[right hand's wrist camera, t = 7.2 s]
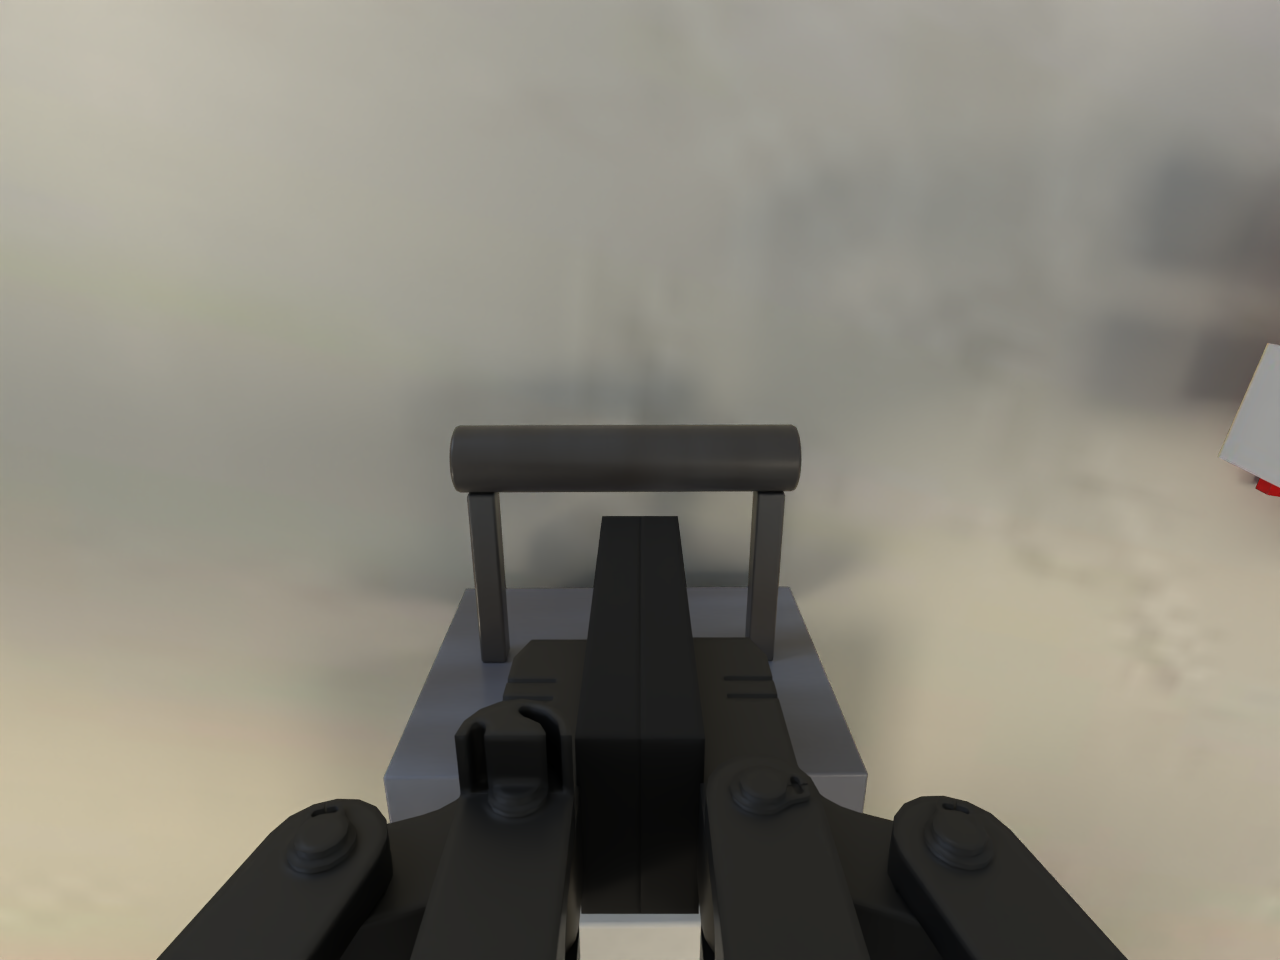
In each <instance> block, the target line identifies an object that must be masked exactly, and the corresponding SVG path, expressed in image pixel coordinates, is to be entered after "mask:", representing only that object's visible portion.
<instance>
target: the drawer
mask: <svg viewBox="0 0 1280 960" xmlns="http://www.w3.org/2000/svg"><path fill="white" fill-rule="evenodd" d="M450 472H451V478H452V482H453V485H454V487H455V489H456V491H458V492H469V494H468V496H467V502H468V513H469V525H470V536H471V548H472V559H473V571H474V582H475V588H468V589H466V590H465V592H464V595H463V597H462V599H461V602H460V604H459V606H458V608H457V611H456V613H455V615H454V618H453V620H452V622H451V624H450V627H449V629H448V631H447V634H446V636H445V638H444V640H443V643H442V645H441V647H440V650H439V652H438V654H437V656H436V659H435V661H434V663H433V666H432V668H431V670H430V672H429V675H428V677H427V679H426V682H425V684H424V686H423V688H422V691H421V693H420V695H419V698H418V700H417V702H416V704H415V707H414V709H413V711H412V714H411V716H410V718H409V721H408V723H407V725H406V727H405V730H404V732H403V734H402V737H401V739H400V741H399V743H398V746H397V748H396V750H395V753H394V755H393V757H392V759H391V762H390V764H389V766H388V769H387V771H386V773H385V775H384V785H385V792H386V798H387V805H388V812H389V818H390V823H393V822H397V821H401V820H404V819H408V818H412V817H416V816H420V815H424V814H426V813H429V812H432V811H435V810H438V809H440V808H442V807H444V806H446V805H448V804H450V803H451V802H453V801H455V800H456V799H458V798H459V797H460V784H459V775H458V765H457V756H456V746H455V737H454V735H455V734H456V732H457V731H458V729H459V728H460V726H461V725H462V723H463V721H464V720H466V719H467V718H468V717H470V716H471V715H473V714H474V713H475V712H477V711H478V710H479V709H482V708H484V707H487V706H490V705H492V704H495V703H498V702H501V701H503V694H504V690H505V687H506V683H508V676H509V672H510V669H511V665H512V662H513V658H514V657H515V656H516V655H517V654H518V653H519V652H520V651H521V650H522V649H523V648H524V647H525V646H526V645H527V644H528V643H529V642H530V641H531V640H587V636H588V628H589V620H590V612H591V604H592V595H593V588H506V584H505V570H504V556H503V541H502V527H501V513H500V499H499V492H703V491H753V507H752V524H751V542H750V560H749V577H748V587H687V595H688V604H689V612H690V620H691V628H692V636H693V637H749V638H750V639H751V640H752V641H753V642H754V643H755V644H756V645H757V646H758V647H759V648H760V649H761V650H762V651H763V652H764V653H765V654H766V655H767V659H768V663H769V666H770V670H771V673H772V679H773V681H774V684H775V687H776V691H777V697H778V698H779V701H780V705H781V708H782V712H783V715H784V719H785V722H786V726H787V729H788V733H789V736H790V740H791V743H792V747H793V750H794V754H795V757H796V761H797V764H798V767H799V768H800V769H801V770H802V771H804V772H805V773H806V774H807V775H808V776H810V777H811V779H812V781H813V782H814V784H815V786H816V788H817V789H818V791H819V793H820V794H821V795H822V796H824V797H825V798H827V799H828V800H830V801H832V802H834V803H836V804H838V805H840V806H842V807H845V808H848V809H850V810H853V811H856V812H859V813H863V807H864V800H865V792H866V785H867V777H868V773H867V771H866V768H865V766H864V764H863V761H862V759H861V756H860V754H859V752H858V749H857V747H856V745H855V742H854V740H853V737H852V735H851V733H850V730H849V728H848V725H847V723H846V721H845V718H844V716H843V714H842V711H841V709H840V706H839V704H838V702H837V699H836V697H835V694H834V692H833V690H832V687H831V685H830V682H829V680H828V678H827V675H826V673H825V671H824V668H823V666H822V663H821V661H820V659H819V656H818V654H817V651H816V649H815V647H814V644H813V642H812V639H811V637H810V635H809V632H808V630H807V628H806V625H805V623H804V620H803V618H802V616H801V613H800V611H799V608H798V606H797V604H796V601H795V599H794V596H793V594H792V592H791V589H790V587H779V573H780V559H781V545H782V531H783V518H784V504H785V494H784V492H783V491H793V490H795V489H796V487H797V485H798V482H799V478H800V472H801V443H800V437H799V434H798V431H797V428H796V427H795V426H793V425H505V426H458V427H456V428H455V429H454V432H453V435H452V438H451V444H450Z"/></svg>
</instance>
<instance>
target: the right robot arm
mask: <svg viewBox="0 0 1280 960" xmlns="http://www.w3.org/2000/svg"><path fill="white" fill-rule="evenodd" d="M454 737H455V746H456V756H457V765H458V775H459V784H460V797H459V798H458V799H456V800H455V801H453V802H451V803H450V804H448V805H446V806H444V807H442V808H440V809H438V810H435V811H432V812H429V813H426V814H424V815H420V816H416V817H412V818H408V819H404V820H401V821H397V822H393V823H389V824H387V821H386V819H385V817H384V816H383V815H382V813H381V812H380V811H379V810H378V808H377V807H376V806H373V805H371V804H369V803H366V802H364V801H361V800H357V799H335V800H331V801H326V802H322V803H318V804H314V805H312V806H310V807H308V808H306V809H304V810H302V811H300V812H298V813H296V814H294V815H292V816H290V817H289V818H287V819H286V820H285V821H284V822H283V823H282V824H280V825H279V826H278V827H277V828H276V829H274V830H273V831H272V832H271V833H270V834H269V835H268V836H267V837H266V838H265V839H264V841H263V842H262V843H261V844H260V845H259V846H258V847H257V848H256V849H255V851H254V852H253V853H252V854H251V855H250V856H249V857H248V858H247V859H246V861H245V862H244V863H243V864H242V865H241V866H240V867H239V868H238V870H237V871H236V872H235V873H234V874H233V875H232V876H231V877H230V878H229V880H228V881H227V882H226V883H225V884H224V885H223V886H222V887H221V888H220V890H219V891H218V892H217V893H216V894H215V895H214V896H213V897H212V898H211V900H210V901H209V902H208V903H207V904H206V905H205V906H204V907H203V908H202V910H201V911H200V912H199V913H198V914H197V915H196V916H195V917H194V918H193V920H192V921H191V922H190V923H189V924H188V925H187V926H186V927H185V928H184V930H183V931H182V932H181V933H180V934H179V935H178V936H177V937H176V938H175V940H174V941H173V942H172V943H171V944H170V945H169V946H168V947H167V948H166V950H165V951H164V952H163V953H162V954H161V955H160V956H159V957H158V958H157V960H580V935H579V922H580V910H581V914H699V906H700V918H701V935H700V960H1128V959H1127V958H1126V957H1125V956H1124V955H1123V954H1122V953H1121V952H1120V950H1119V949H1118V948H1117V947H1116V946H1115V945H1114V944H1113V943H1112V942H1111V941H1110V939H1109V938H1108V937H1107V936H1106V935H1105V934H1104V933H1103V932H1102V931H1101V929H1100V928H1099V927H1098V926H1097V925H1096V924H1095V923H1094V922H1093V921H1092V920H1091V918H1090V917H1089V916H1088V915H1087V914H1086V913H1085V912H1084V911H1083V910H1082V908H1081V907H1080V906H1079V905H1078V904H1077V903H1076V902H1075V901H1074V900H1073V899H1072V897H1071V896H1070V895H1069V894H1068V893H1067V892H1066V891H1065V890H1064V889H1063V887H1062V886H1061V885H1060V884H1059V883H1058V882H1057V881H1056V880H1055V879H1054V878H1053V876H1052V875H1051V874H1050V873H1049V872H1048V871H1047V870H1046V869H1045V868H1044V866H1043V865H1042V864H1041V863H1040V862H1039V861H1038V860H1037V859H1036V858H1035V857H1034V855H1033V854H1032V853H1031V852H1030V851H1029V850H1028V849H1027V848H1026V847H1025V845H1024V844H1023V843H1022V842H1021V841H1020V840H1019V839H1018V838H1017V837H1016V836H1015V834H1014V833H1013V832H1012V831H1011V830H1010V829H1009V828H1008V827H1006V826H1005V825H1004V824H1003V823H1002V822H1000V821H999V820H998V819H997V818H996V817H995V816H993V815H992V814H991V813H989V812H987V811H985V810H983V809H981V808H979V807H977V806H975V805H973V804H971V803H969V802H967V801H963V800H958V799H954V798H950V797H946V796H923V797H919V798H917V799H914V800H912V801H909V802H907V803H904V804H903V806H902V807H901V808H900V810H899V811H898V812H897V814H896V815H895V816H894V821H891V820H887V819H883V818H879V817H875V816H871V815H867V814H863V813H859V812H856V811H853V810H850V809H848V808H845V807H842V806H840V805H838V804H836V803H834V802H832V801H830V800H828V799H827V798H825V797H824V796H822V795H821V794H820V793H819V791H818V789H817V788H816V786H815V784H814V782H813V781H812V779H811V777H810V776H808V775H807V774H806V773H805V772H804V771H802V770H801V769H800V768H799V767H798V764H797V761H796V757H795V754H794V750H793V747H792V743H791V740H790V736H789V733H788V729H787V726H786V722H785V719H784V715H783V712H782V708H781V705H780V701H779V698H778V697H777V691H776V687H775V684H774V681H773V679H772V673H771V670H770V666H769V663H768V659H767V655H766V654H765V653H764V652H763V651H762V650H761V649H760V648H759V647H758V646H757V645H756V644H755V643H754V642H753V641H752V640H751V639H750V638H749V637H693V636H692V628H691V620H690V612H689V604H688V595H687V587H686V579H685V571H684V563H683V555H682V547H681V539H680V531H679V523H678V516H602V523H601V531H600V539H599V547H598V555H597V563H596V571H595V579H594V587H593V595H592V604H591V612H590V620H589V628H588V636H587V640H531V641H530V642H529V643H528V644H527V645H526V646H525V647H524V648H523V649H522V650H521V651H520V652H519V653H518V654H517V655H516V656H515V657H514V658H513V662H512V665H511V669H510V672H509V676H508V683H506V687H505V690H504V694H503V701H501V702H498V703H495V704H492V705H490V706H487V707H484V708H482V709H479V710H478V711H477V712H475V713H474V714H473V715H471V716H470V717H468V718H467V719H466V720H464V721H463V723H462V725H461V726H460V728H459V729H458V731H457V732H456V734H455V735H454Z"/></svg>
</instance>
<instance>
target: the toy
mask: <svg viewBox="0 0 1280 960" xmlns="http://www.w3.org/2000/svg"><path fill="white" fill-rule="evenodd" d="M1218 457H1219V458H1221V459H1223V460H1225V461H1227V462H1229V463H1231V464H1233V465H1235V466H1237V467H1239V468H1241V469H1243V470H1245V471H1247V472H1249V473H1251V474H1253V475H1255V476H1257V477H1259V478H1260V479H1259V481H1258V484H1257V486H1256V489H1258V490H1259V491H1261V492H1263V493H1265V494H1267V495H1272V496H1278V497H1280V345H1277V344H1270V343H1267V345H1266V348H1265V350H1264V352H1263V355H1262V357H1261V359H1260V361H1259V364H1258V366H1257V368H1256V370H1255V373H1254V375H1253V377H1252V380H1251V382H1250V384H1249V386H1248V389H1247V391H1246V393H1245V396H1244V398H1243V400H1242V402H1241V405H1240V407H1239V409H1238V411H1237V414H1236V416H1235V418H1234V421H1233V423H1232V425H1231V427H1230V430H1229V432H1228V434H1227V437H1226V439H1225V441H1224V443H1223V446H1222V448H1221V450H1220V452H1219V455H1218Z"/></svg>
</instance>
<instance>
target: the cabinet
mask: <svg viewBox="0 0 1280 960" xmlns="http://www.w3.org/2000/svg"><path fill="white" fill-rule="evenodd" d="M579 935H580V960H700V935H701V918H700V906H699V914H581V910H580V922H579Z"/></svg>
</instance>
